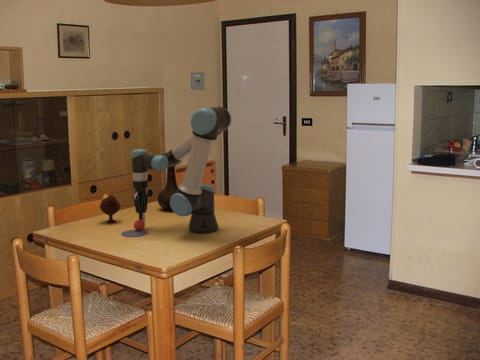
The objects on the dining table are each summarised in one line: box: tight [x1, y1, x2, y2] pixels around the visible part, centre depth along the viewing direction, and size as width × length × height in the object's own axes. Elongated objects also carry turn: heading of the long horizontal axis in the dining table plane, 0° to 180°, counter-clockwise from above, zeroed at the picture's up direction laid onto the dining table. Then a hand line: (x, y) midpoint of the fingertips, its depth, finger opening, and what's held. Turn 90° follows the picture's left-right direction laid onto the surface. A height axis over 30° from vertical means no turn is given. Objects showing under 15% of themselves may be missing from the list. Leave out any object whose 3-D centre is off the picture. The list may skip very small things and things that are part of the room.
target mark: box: [120, 229, 149, 238], centre depth 283 cm, size 13×13×1 cm
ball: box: [133, 219, 146, 231], centre depth 289 cm, size 6×6×6 cm
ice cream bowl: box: [99, 194, 122, 224], centre depth 306 cm, size 11×11×15 cm
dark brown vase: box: [157, 166, 179, 212], centre depth 333 cm, size 18×18×28 cm
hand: (142, 225), depth 292 cm, fingers closed
